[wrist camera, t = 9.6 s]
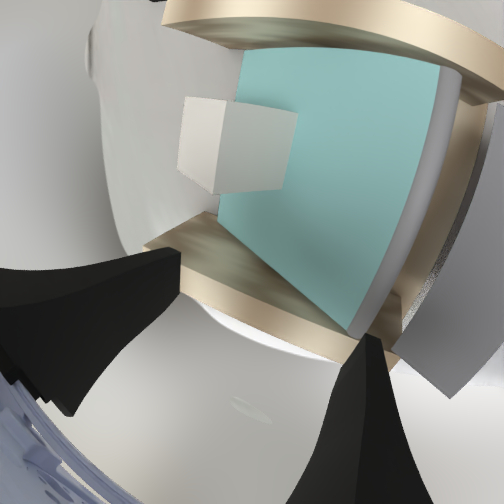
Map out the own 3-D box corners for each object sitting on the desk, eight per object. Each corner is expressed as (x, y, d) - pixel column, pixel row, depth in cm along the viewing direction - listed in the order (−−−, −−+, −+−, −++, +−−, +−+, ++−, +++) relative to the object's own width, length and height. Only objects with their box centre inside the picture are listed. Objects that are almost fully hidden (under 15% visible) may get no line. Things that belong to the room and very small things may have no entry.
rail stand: (482, 88, 9) (534, 71, 3) (399, 311, 18) (397, 383, 12) (233, 25, 14) (168, -6, 8) (202, 233, 23) (144, 271, 17)
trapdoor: (569, 155, 4) (590, 144, 2) (459, 370, 10) (439, 412, 8) (284, 62, 15) (243, 50, 13) (254, 215, 21) (215, 221, 19)
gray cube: (298, 113, 11) (226, 100, 9) (281, 189, 14) (212, 195, 11) (249, 103, 14) (185, 96, 12) (237, 166, 16) (176, 169, 14)
